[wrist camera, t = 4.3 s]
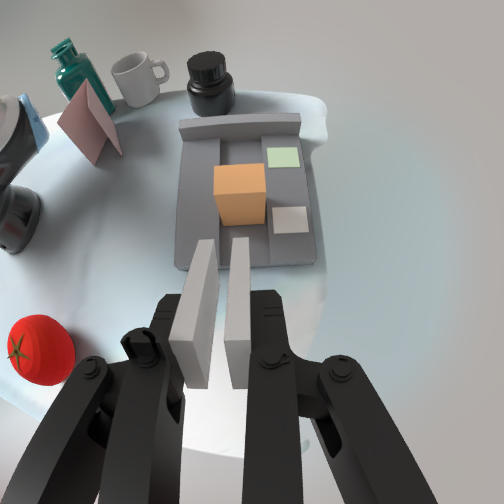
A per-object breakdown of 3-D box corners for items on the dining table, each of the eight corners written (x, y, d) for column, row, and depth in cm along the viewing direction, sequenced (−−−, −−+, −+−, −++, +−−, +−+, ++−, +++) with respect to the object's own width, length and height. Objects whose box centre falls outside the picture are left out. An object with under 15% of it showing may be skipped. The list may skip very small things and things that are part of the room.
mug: (123, 112, 50) (105, 79, 40) (130, 89, 53) (115, 58, 42) (173, 100, 51) (160, 63, 40) (175, 78, 53) (165, 43, 42)
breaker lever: (264, 224, 40) (266, 192, 30) (223, 226, 40) (213, 194, 31) (262, 199, 41) (263, 163, 32) (223, 201, 41) (214, 166, 32)
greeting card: (111, 124, 50) (83, 78, 35) (138, 122, 49) (113, 72, 35) (91, 166, 47) (53, 123, 32) (119, 166, 46) (83, 117, 32)
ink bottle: (242, 93, 50) (239, 49, 39) (230, 121, 48) (224, 75, 37) (199, 90, 51) (190, 48, 40) (184, 116, 49) (170, 73, 37)
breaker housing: (312, 264, 40) (322, 252, 34) (180, 270, 40) (166, 259, 34) (295, 136, 47) (299, 113, 40) (187, 142, 47) (179, 120, 41)
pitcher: (117, 110, 51) (80, 41, 30) (88, 130, 50) (43, 67, 28) (108, 93, 53) (76, 31, 32) (81, 112, 52) (43, 54, 31)
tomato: (36, 354, 36) (-10, 354, 24) (54, 305, 39) (7, 294, 27) (77, 396, 35) (30, 408, 22) (98, 345, 37) (49, 346, 25)
